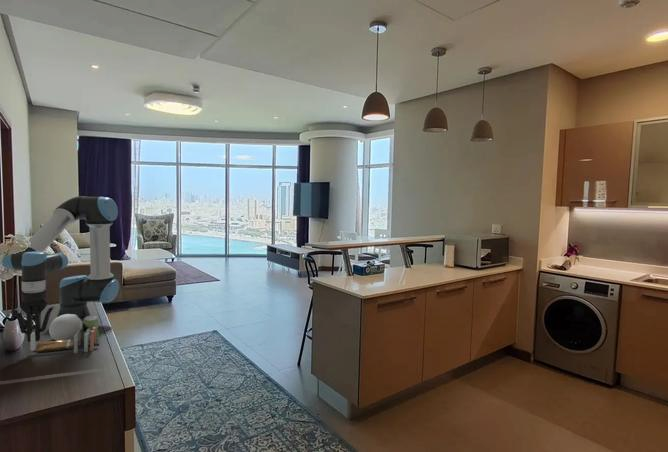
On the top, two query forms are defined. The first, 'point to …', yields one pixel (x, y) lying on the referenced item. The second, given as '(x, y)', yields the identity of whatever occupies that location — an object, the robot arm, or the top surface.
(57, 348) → the copper tube
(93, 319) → the beverage can
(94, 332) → the aperture bridge
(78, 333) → the collar
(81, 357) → the top surface
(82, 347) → the grey open frame rack
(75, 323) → the decorative ball
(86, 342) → the collar
